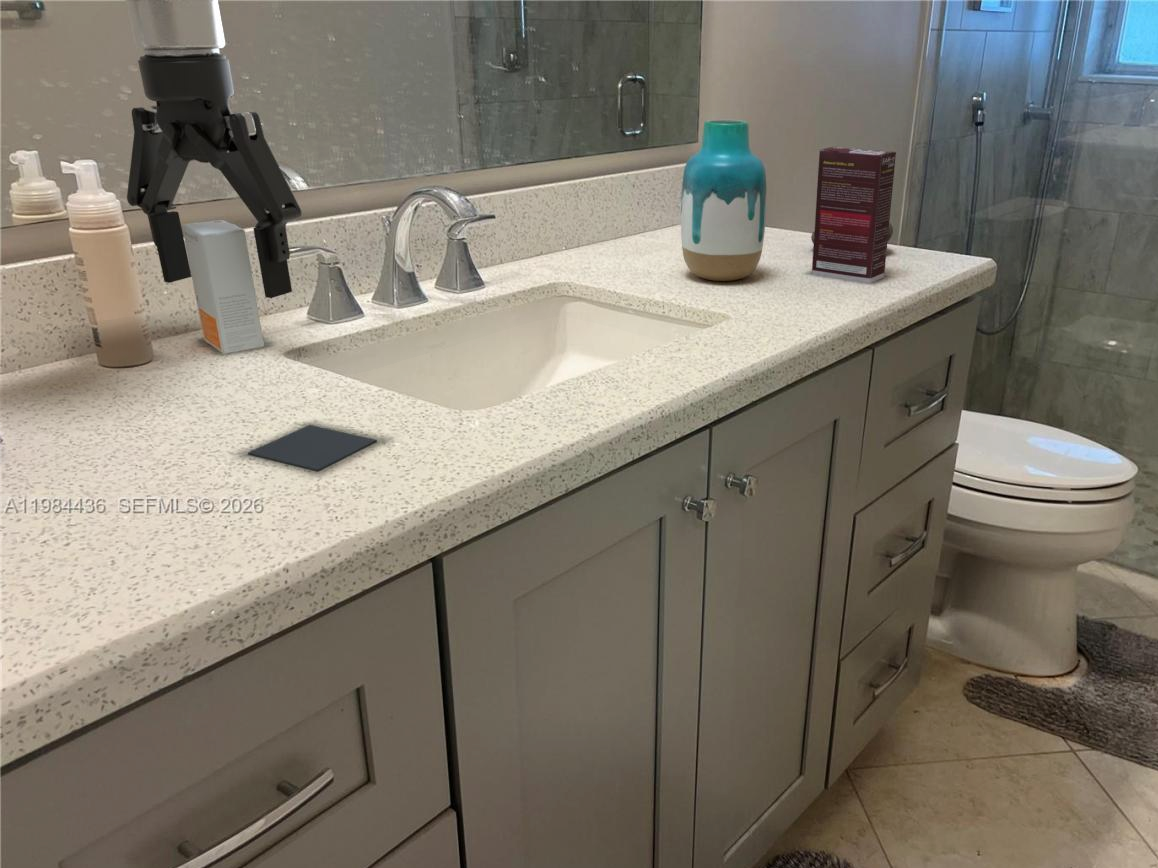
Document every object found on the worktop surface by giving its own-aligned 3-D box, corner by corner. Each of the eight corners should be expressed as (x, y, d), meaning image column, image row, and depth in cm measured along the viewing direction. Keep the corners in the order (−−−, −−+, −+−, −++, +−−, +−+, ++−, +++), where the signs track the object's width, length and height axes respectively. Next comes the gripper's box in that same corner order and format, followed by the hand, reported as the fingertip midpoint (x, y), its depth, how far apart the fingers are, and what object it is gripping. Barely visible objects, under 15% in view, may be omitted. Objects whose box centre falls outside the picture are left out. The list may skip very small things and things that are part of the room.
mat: (248, 458, 80) (247, 452, 79) (310, 430, 85) (309, 424, 85) (318, 475, 77) (317, 469, 77) (377, 445, 82) (377, 439, 82)
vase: (778, 283, 132) (788, 123, 123) (709, 293, 127) (713, 127, 118) (731, 266, 140) (737, 115, 131) (664, 275, 135) (665, 119, 126)
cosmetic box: (202, 343, 106) (179, 223, 101) (244, 335, 108) (224, 218, 103) (223, 357, 102) (200, 233, 96) (266, 349, 104) (246, 228, 99)
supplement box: (885, 279, 135) (898, 150, 128) (869, 286, 131) (882, 154, 124) (825, 269, 139) (835, 145, 132) (808, 276, 136) (818, 148, 129)
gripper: (318, 53, 91) (351, 292, 101) (122, 48, 101) (169, 265, 110) (253, 57, 85) (295, 311, 95) (51, 51, 95) (107, 281, 104)
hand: (227, 287), depth 103 cm, fingers open, 13 cm apart
